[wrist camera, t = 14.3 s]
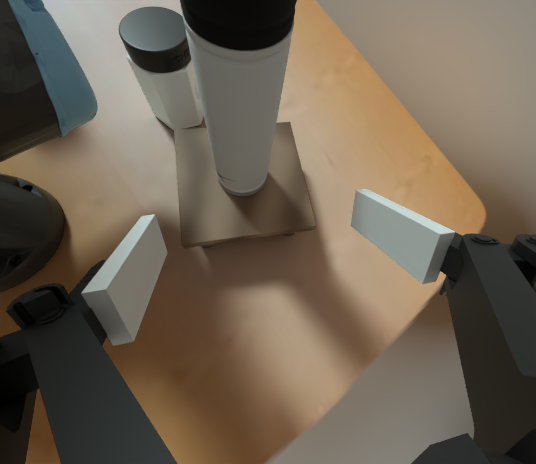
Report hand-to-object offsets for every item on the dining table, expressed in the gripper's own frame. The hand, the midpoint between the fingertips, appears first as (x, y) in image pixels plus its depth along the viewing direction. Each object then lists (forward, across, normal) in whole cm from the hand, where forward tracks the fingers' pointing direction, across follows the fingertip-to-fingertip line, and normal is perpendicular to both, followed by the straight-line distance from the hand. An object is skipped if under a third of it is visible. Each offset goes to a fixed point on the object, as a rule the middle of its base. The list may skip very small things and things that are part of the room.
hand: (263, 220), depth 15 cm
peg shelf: (+20, 0, -5) cm, 20 cm away
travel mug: (+15, 0, -1) cm, 15 cm away
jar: (+32, -8, +8) cm, 34 cm away
